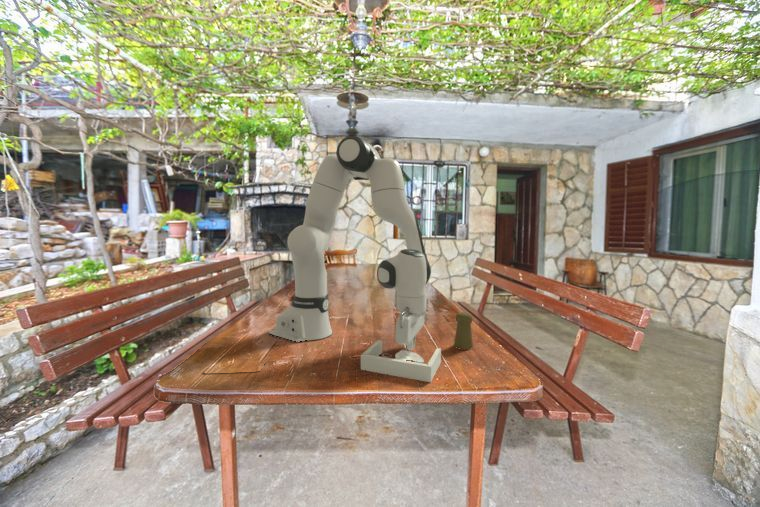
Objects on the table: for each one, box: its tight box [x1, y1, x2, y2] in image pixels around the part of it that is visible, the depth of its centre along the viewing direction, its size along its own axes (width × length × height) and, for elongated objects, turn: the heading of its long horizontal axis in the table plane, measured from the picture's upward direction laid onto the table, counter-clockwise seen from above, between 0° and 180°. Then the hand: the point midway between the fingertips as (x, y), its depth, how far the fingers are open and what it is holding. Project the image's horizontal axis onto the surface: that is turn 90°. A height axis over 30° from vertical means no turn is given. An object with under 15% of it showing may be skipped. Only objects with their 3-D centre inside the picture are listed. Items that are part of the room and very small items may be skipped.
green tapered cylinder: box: [453, 311, 474, 350], centre depth 104 cm, size 6×6×11 cm
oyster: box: [394, 349, 425, 363], centre depth 92 cm, size 8×12×2 cm, turn 17°
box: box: [360, 339, 442, 383], centre depth 90 cm, size 19×13×4 cm
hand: (410, 348), depth 98 cm, fingers closed
